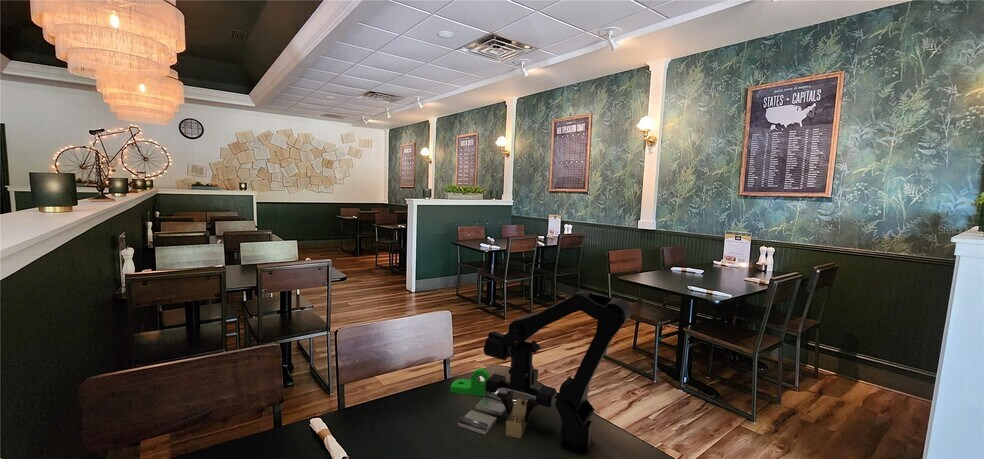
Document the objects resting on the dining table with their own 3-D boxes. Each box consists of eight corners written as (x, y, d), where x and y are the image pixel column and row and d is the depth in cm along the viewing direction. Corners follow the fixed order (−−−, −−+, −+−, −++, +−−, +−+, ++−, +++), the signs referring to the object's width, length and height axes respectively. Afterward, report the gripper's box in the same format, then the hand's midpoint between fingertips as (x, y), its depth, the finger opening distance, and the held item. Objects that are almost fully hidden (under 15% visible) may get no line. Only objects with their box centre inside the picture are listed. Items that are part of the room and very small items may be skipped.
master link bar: (531, 414, 116) (531, 399, 116) (520, 438, 105) (521, 421, 104) (517, 411, 117) (517, 396, 117) (505, 435, 106) (506, 418, 106)
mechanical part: (491, 388, 131) (492, 363, 131) (488, 397, 125) (489, 371, 125) (455, 384, 133) (455, 360, 133) (450, 392, 128) (450, 367, 127)
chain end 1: (510, 404, 121) (511, 396, 121) (501, 415, 115) (501, 407, 115) (486, 397, 125) (486, 390, 124) (475, 408, 118) (475, 400, 118)
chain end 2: (496, 421, 112) (496, 412, 112) (485, 434, 106) (485, 425, 106) (470, 413, 116) (470, 405, 115) (458, 426, 109) (458, 417, 109)
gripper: (563, 360, 113) (561, 414, 114) (501, 347, 121) (499, 398, 122) (551, 376, 103) (549, 435, 104) (484, 361, 111) (483, 416, 112)
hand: (519, 419), depth 111 cm, fingers closed on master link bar, 4 cm apart
